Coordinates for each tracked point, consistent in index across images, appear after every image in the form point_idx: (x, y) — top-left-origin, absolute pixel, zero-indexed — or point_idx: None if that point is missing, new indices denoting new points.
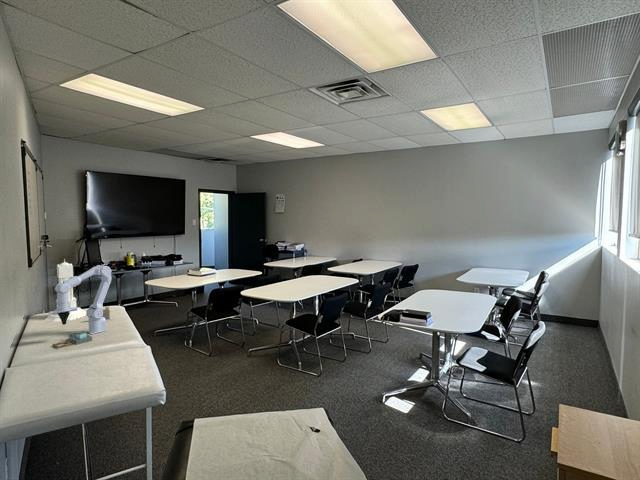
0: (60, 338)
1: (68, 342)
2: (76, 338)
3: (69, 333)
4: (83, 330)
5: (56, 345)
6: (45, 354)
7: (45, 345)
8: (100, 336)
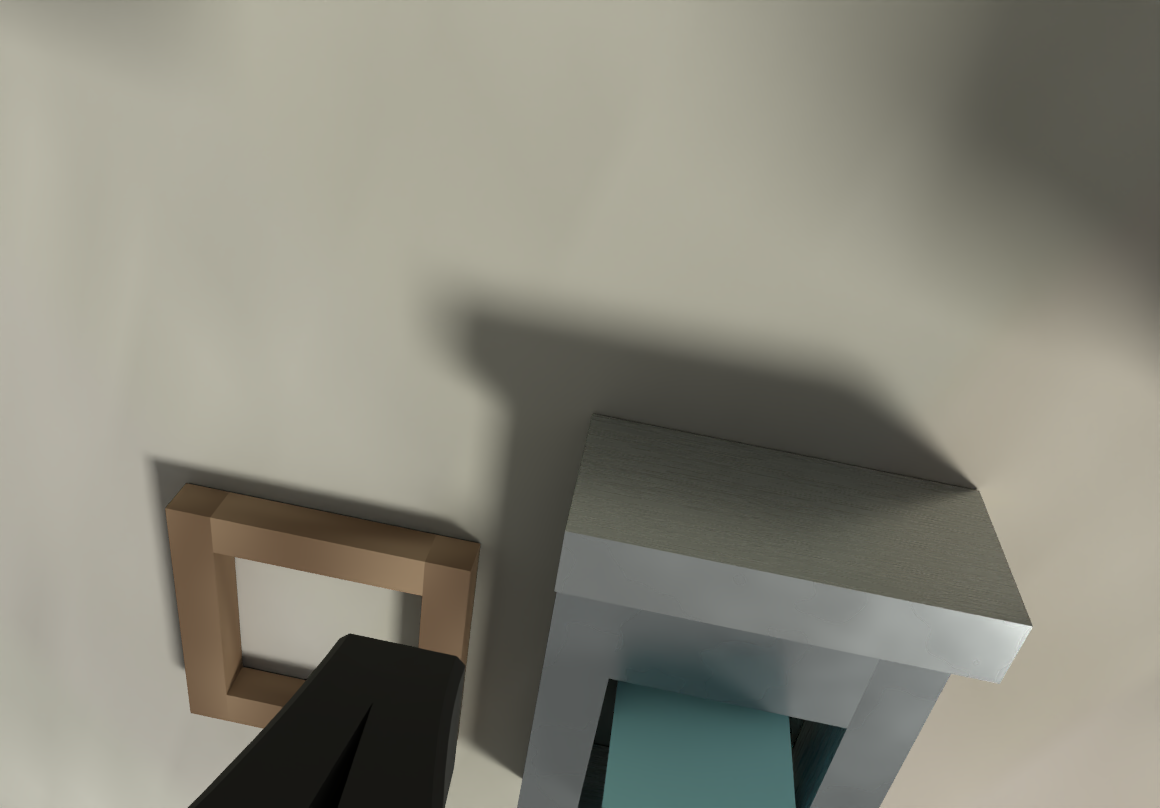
0: (543, 48)
1: None
2: (584, 773)
3: (594, 550)
4: (1004, 649)
5: (207, 639)
6: (13, 743)
7: (72, 308)
8: (1099, 795)
